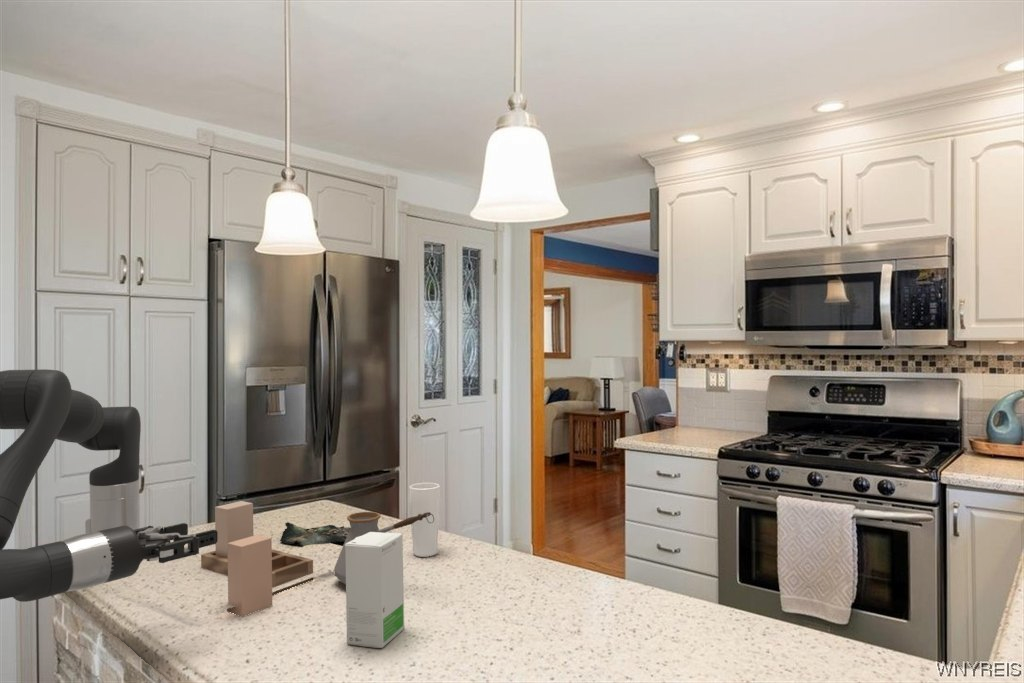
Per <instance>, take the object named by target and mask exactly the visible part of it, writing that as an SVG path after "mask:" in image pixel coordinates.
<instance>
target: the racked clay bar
mask: <svg viewBox="0 0 1024 683" xmlns="http://www.w3.org/2000/svg"><path fill="white" fill-rule="evenodd" d="M214 522H215V523H214V525H215V526H214V527H215V528H214V530H216V531H217V532H218V541H217V543H216V544H214V545H215V551H216V556H218V557H222V558H225V559H227V558H228V543H230V542H233V541H237V540H240V539H244V538H248V537H251V536H254V503H252V502H247V501H242V500H240V501H235V502H231V503H227V504H222V505H218V506H214Z"/></svg>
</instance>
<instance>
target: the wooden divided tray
mask: <svg viewBox="0 0 1024 683" xmlns="http://www.w3.org/2000/svg"><path fill="white" fill-rule="evenodd" d="M200 562H201V563H200V566H201V567H200V568H202V569H205V570H209V571H211V572H215V573H218V574H221V575H224V576H227V577H228V558H227V559H225V558H222V557H218V556H216V550H214V551H210V552H206V553H203V554H200ZM313 573H314V560H313V559H311V558H307V557H303V556H299V555H296V554H291V553H288V552H284V551H280V550H275V549H272V589H273V588H274V587H278V586H280V585H283V584H286V583H290V582H292V581H294V580H297V579H300V578H303V577H306V576H308V575H311V574H313ZM311 580H312V581H314V577H310V578H307V579H304V580H301V581H299V582H297V583H294V584H290V585H288V586H284V587H283V588H279V589H277V590H274V591H272V596H275V595H278V594H280V593H283V592H285V591H284V590H286V591H288V590H290V588H291V589H293V588H292V587H294V588H296V587H299V586H301V585H300V584H302V585H304V584H306V582H307V583H309V582H308V581H310V582H312V581H311ZM303 583H304V584H303ZM298 585H299V586H298ZM295 586H296V587H295ZM287 589H288V590H287ZM282 591H283V592H282ZM279 592H280V593H279ZM277 593H278V594H277ZM274 594H275V595H274Z"/></svg>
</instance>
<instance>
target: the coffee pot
mask: <svg viewBox="0 0 1024 683" xmlns="http://www.w3.org/2000/svg"><path fill="white" fill-rule="evenodd" d="M430 515H432V516H433V514H431V513H430V512H427V513H424V514H422V515H421V514H418V516H415V517H410V516H409V517H408V518H406V519H405V518H404V519H403V520H401V521H399V522H398V521H397V522H396V523H394V524H393V525H390V526H385V527H384V528H380V529H379V527H378V523H379V519H380V518H381V516H382V515H381V514H380V513H378V512H375V511H374V512H373V511H361V512H354V513H351V514H349V515H348V516H346V520H347V521H348V522H349V525H350V527H349V528H350V530H349V533H348V535H347V538H346V540H345V541H344V543H343V545H342V548H341V551H340V552H339V556H338V557H337V560H336V563H335V565H334V569H333V572H334V575H335V577H336V578H337V579H338V580H339V581H340V583H342V584H343V585H344V584H345V585H346V557H345V544H346V543H348V542H350V541H352V540H354V539H355V538H356V537H359V536H362V535H364V534H366V533H369V532H381V533H389V532H390V531H394V530H396V529H399V528H403V527H407V526H411V524H413V523H414V522H416V521H418V520H420V521H421V520H422V519H423V518H426V519H427V521H428V518H427V517H428V516H430ZM428 522H429V521H428ZM433 522H434V516H433ZM433 522H432V523H433ZM429 523H431V522H429ZM345 585H344V586H345Z"/></svg>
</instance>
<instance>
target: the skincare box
mask: <svg viewBox="0 0 1024 683" xmlns="http://www.w3.org/2000/svg"><path fill="white" fill-rule="evenodd" d="M403 535H404V534H403V533H399V532H385V533H381V532H369V533H366V534H364V535H362V536H359V537H356V538H355V539H354V540H352V541H350V542H348V543H346V544H345V557H346V586H345V605H346V606H345V607H346V608H345V612H346V613H345V614H346V615H345V616H346V644H347V645H351V646H358V647H366V648H374V649H382V648H384V647H385V646H386V645H387V644H388V643H390V642H391V641H392V640H393V639H394V638H395V637H397V635H399V633H401V632H402V631H403V630H404V629H405V600H404V599H405V598H404V597H405V592H404V588H405V587H404V553H403V552H404V550H403V549H404V547H403V544H404V543H403Z"/></svg>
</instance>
